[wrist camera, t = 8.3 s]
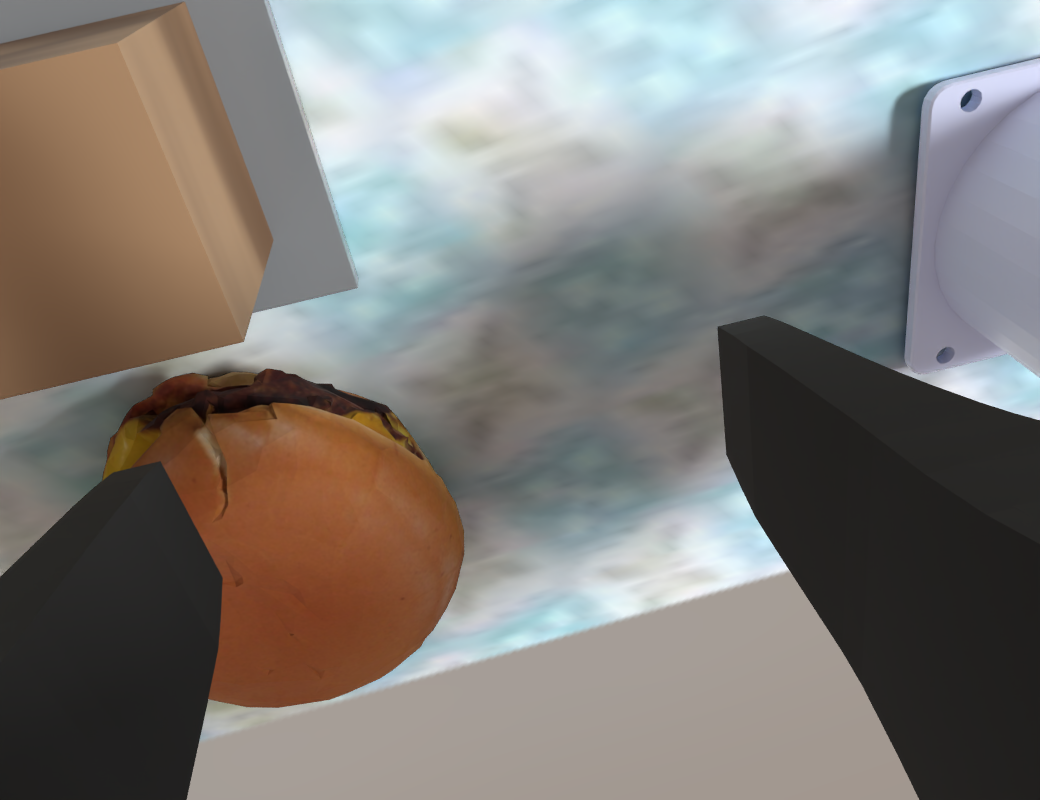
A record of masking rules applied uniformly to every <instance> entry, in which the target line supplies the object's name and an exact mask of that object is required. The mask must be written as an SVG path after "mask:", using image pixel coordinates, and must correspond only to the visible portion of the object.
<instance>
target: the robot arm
mask: <svg viewBox="0 0 1040 800" xmlns="http://www.w3.org/2000/svg"><path fill="white" fill-rule="evenodd" d="M969 90H971V91H972V96H971V99H970V101H969V102H968V104H967V105H966V106H964V107H962V108H961V106H960V102H961V99H962V97H963V96H964V94H965V93H966V92H967V91H969ZM718 341H719V355H720V369H721V384H722V398H723V412H724V427H725V441H726V455H727V457H728V459H729V461H730V464H731V466H732V468H733V470H734V472H735V475H736V477H737V479H738V481H739V484H740V486H741V488H742V490H743V492H744V494H745V496H746V498H747V501H748V503H749V505H750V507H751V509H752V511H753V513H754V515H755V517H756V519H757V520H758V522H759V523H760V525H761V527H762V528H763V530H764V531H765V533H766V535H767V536H768V538H769V539H770V541H771V542H772V544H773V545H774V547H775V549H776V550H777V552H778V553H779V555H780V556H781V558H782V560H783V561H784V563H785V564H786V566H787V567H788V569H789V570H790V572H791V573H792V575H793V577H794V578H795V580H796V581H797V582H798V584H799V586H800V587H801V589H802V590H803V592H804V593H805V595H806V597H807V598H808V600H809V601H810V603H811V604H812V605H813V607H814V609H815V610H816V612H817V613H818V615H819V616H820V618H821V619H822V621H823V623H824V624H825V626H826V627H827V629H828V630H829V632H830V633H831V635H832V636H833V638H834V639H835V641H836V643H837V644H838V646H839V647H840V649H841V650H842V652H843V654H844V655H845V657H846V658H847V660H848V662H849V664H850V665H851V667H852V669H853V670H854V672H855V674H856V676H857V677H858V679H859V681H860V682H861V684H862V686H863V688H864V690H865V692H866V694H867V696H868V697H869V700H870V702H871V704H872V706H873V708H874V710H875V711H876V713H877V715H878V717H879V719H880V721H881V723H882V725H883V727H884V729H885V731H886V733H887V735H888V737H889V739H890V741H891V742H892V745H893V747H894V749H895V751H896V753H897V754H898V757H899V759H900V761H901V763H902V765H903V767H904V769H905V771H906V773H907V775H908V777H909V779H910V781H911V783H912V785H913V788H914V790H915V792H916V794H917V796H918V798H919V800H1040V420H1036V419H1032V418H1029V417H1025V416H1022V415H1018V414H1015V413H1011V412H1008V411H1005V410H1002V409H999V408H996V407H992V406H989V405H986V404H983V403H980V402H977V401H975V400H972V399H969V398H966V397H963V396H961V395H958V394H955V393H952V392H949V391H947V390H944V389H941V388H938V387H935V386H933V385H930V384H927V383H925V382H922V381H920V380H917V379H914V378H912V377H909V376H907V375H904V374H902V373H899V372H897V371H894V370H892V369H890V368H887V367H885V366H882V365H880V364H878V363H875V362H873V361H870V360H868V359H866V358H863V357H861V356H859V355H856V354H854V353H852V352H850V351H847V350H845V349H843V348H840V347H838V346H836V345H834V344H831V343H829V342H827V341H825V340H822V339H820V338H818V337H816V336H813V335H811V334H809V333H807V332H804V331H802V330H800V329H797V328H795V327H793V326H790V325H788V324H786V323H783V322H781V321H778V320H775V319H773V318H770V317H767V316H760V317H756V318H752V319H748V320H744V321H740V322H736V323H731V324H727V325H723V326H719V327H718ZM943 348H946V350H945V351H944V352H943V353H942V355H939V356H937V354H938V353H939V352H940V351H941V349H943ZM1005 354H1008V355H1010V356H1011V357H1013V358H1014V359H1015V360H1017V361H1018V362H1019V363H1021V364H1022V365H1023V366H1025V367H1026V368H1027V369H1029V370H1030V371H1031V372H1033V373H1034V374H1035V375H1037V376H1038V377H1039V378H1040V58H1038V59H1034V60H1029V61H1025V62H1021V63H1017V64H1013V65H1008V66H1004V67H1000V68H996V69H991V70H987V71H983V72H979V73H974V74H970V75H966V76H962V77H958V78H953V79H949V80H945V81H942V82H940V83H938V84H936V85H935V86H933V87H932V88H931V89H930V90H929V91H928V93H927V95H926V96H925V98H924V101H923V105H922V113H921V127H920V141H919V156H918V170H917V184H916V199H915V213H914V227H913V242H912V256H911V270H910V285H909V299H908V313H907V328H906V342H905V356H904V358H905V363H906V365H907V366H908V367H909V368H910V369H911V370H912V371H913V372H915V373H918V374H927V373H931V372H935V371H939V370H943V369H948V368H952V367H956V366H960V365H964V364H968V363H972V362H976V361H980V360H985V359H989V358H993V357H997V356H1001V355H1005ZM222 583H223V577H222V575H221V573H220V572H219V570H218V568H217V566H216V564H215V562H214V560H213V558H212V557H211V555H210V553H209V551H208V549H207V547H206V545H205V543H204V542H203V540H202V538H201V536H200V534H199V532H198V530H197V529H196V527H195V525H194V523H193V521H192V519H191V517H190V515H189V514H188V512H187V510H186V508H185V506H184V504H183V502H182V500H181V499H180V497H179V495H178V493H177V491H176V489H175V487H174V485H173V484H172V482H171V480H170V478H169V476H168V474H167V472H166V471H165V469H164V467H163V465H162V463H161V461H159V462H155V463H150V464H146V465H142V466H138V467H134V468H130V469H125V470H121V471H117V472H113V473H112V474H110V475H109V476H108V477H107V478H105V479H104V480H103V481H101V482H100V483H99V484H98V485H97V486H95V487H94V488H93V489H92V490H91V491H90V492H89V493H88V494H86V495H85V496H84V497H83V498H82V499H81V500H80V501H79V502H78V503H77V504H76V505H74V506H73V507H72V508H71V509H70V510H69V511H68V512H67V513H66V514H65V515H64V516H63V517H62V518H61V519H60V520H59V521H58V522H57V523H56V524H55V525H54V526H53V527H52V528H50V529H49V530H48V531H47V532H46V533H45V534H44V535H43V536H42V537H41V538H40V539H39V540H38V541H37V542H36V543H35V544H34V545H33V546H32V547H31V548H30V549H29V550H28V551H27V552H26V553H25V554H24V555H23V556H22V557H21V558H19V559H18V560H17V561H16V562H15V563H14V564H13V565H12V566H11V567H10V568H9V569H8V570H7V571H6V572H5V573H4V574H3V575H2V576H1V577H0V800H186V799H187V795H188V790H189V785H190V781H191V776H192V772H193V767H194V762H195V758H196V753H197V748H198V744H199V739H200V735H201V730H202V726H203V721H204V717H205V712H206V707H207V703H208V698H209V693H210V688H211V683H212V678H213V674H214V669H215V664H216V658H217V653H218V648H219V635H220V623H221V605H222Z"/></svg>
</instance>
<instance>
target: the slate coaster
mask: <svg viewBox="0 0 1040 800" xmlns="http://www.w3.org/2000/svg"><path fill="white" fill-rule="evenodd" d="M181 2H185V3H186V6H187V9H188V11H189V14H190V17H191V19H192V22H193V25H194V27H195V30H196V33H197V36H198V38H199V41H200V44H201V46H202V49H203V52H204V54H205V57H206V60H207V62H208V65H209V68H210V70H211V73H212V76H213V78H214V81H215V84H216V87H217V89H218V92H219V95H220V97H221V100H222V103H223V105H224V108H225V111H226V113H227V116H228V119H229V121H230V124H231V127H232V129H233V132H234V135H235V137H236V140H237V143H238V146H239V148H240V151H241V154H242V156H243V159H244V162H245V164H246V167H247V170H248V172H249V175H250V178H251V180H252V183H253V186H254V188H255V191H256V194H257V197H258V199H259V202H260V205H261V207H262V210H263V213H264V215H265V218H266V221H267V223H268V226H269V229H270V231H271V234H272V237H273V239H274V240H273V244H272V247H271V251H270V254H269V257H268V261H267V264H266V268H265V271H264V274H263V278H262V281H261V285H260V288H259V292H258V295H257V298H256V302H255V305H254V309H253V312H252V313H255V312H259V311H263V310H267V309H271V308H276V307H280V306H284V305H288V304H292V303H297V302H301V301H305V300H309V299H313V298H318V297H322V296H326V295H330V294H334V293H339V292H343V291H347V290H351V289H355V288H358V275H357V272H356V269H355V266H354V263H353V260H352V257H351V254H350V251H349V248H348V245H347V242H346V238H345V235H344V232H343V229H342V226H341V223H340V220H339V217H338V214H337V211H336V208H335V204H334V201H333V198H332V195H331V192H330V189H329V186H328V183H327V180H326V177H325V174H324V170H323V167H322V164H321V161H320V158H319V155H318V152H317V149H316V146H315V143H314V140H313V136H312V133H311V130H310V127H309V124H308V121H307V118H306V115H305V112H304V109H303V106H302V103H301V99H300V96H299V93H298V90H297V87H296V84H295V81H294V78H293V75H292V72H291V69H290V65H289V62H288V59H287V56H286V53H285V50H284V47H283V44H282V41H281V38H280V35H279V31H278V28H277V25H276V22H275V19H274V16H273V13H272V10H271V7H270V4H269V1H268V0H0V44H1V43H6V42H10V41H14V40H19V39H23V38H27V37H32V36H36V35H41V34H45V33H49V32H54V31H58V30H62V29H67V28H71V27H76V26H80V25H84V24H89V23H93V22H97V21H102V20H106V19H111V18H115V17H119V16H124V15H128V14H132V13H137V12H141V11H146V10H150V9H154V8H159V7H163V6H167V5H172V4H176V3H181Z"/></svg>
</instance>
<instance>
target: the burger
mask: <svg viewBox="0 0 1040 800" xmlns="http://www.w3.org/2000/svg"><path fill="white" fill-rule="evenodd" d="M159 461H161V463H162V465H163V467H164V469H165V471H166V472H167V474H168V476H169V478H170V480H171V482H172V484H173V485H174V487H175V489H176V491H177V493H178V495H179V497H180V499H181V500H182V502H183V504H184V506H185V508H186V510H187V512H188V514H189V515H190V517H191V519H192V521H193V523H194V525H195V527H196V529H197V530H198V532H199V534H200V536H201V538H202V540H203V542H204V543H205V545H206V547H207V549H208V551H209V553H210V555H211V557H212V558H213V560H214V562H215V564H216V566H217V568H218V570H219V572H220V573H221V575H222V577H223V583H222V605H221V623H220V635H219V648H218V653H217V658H216V664H215V669H214V674H213V678H212V683H211V688H210V693H209V698H208V699H210V700H215V701H219V702H224V703H229V704H235V705H240V706H245V707H272V708H279V707H285V706H292V705H298V704H304V703H311V702H318V701H324V700H330V699H333V698H335V697H338V696H341V695H343V694H346V693H348V692H351V691H353V690H355V689H357V688H360V687H362V686H364V685H366V684H368V683H371V682H373V681H375V680H377V679H380V678H381V677H383V676H384V675H386V674H387V673H389V672H391V671H392V670H393V669H395V668H396V667H397V666H398V665H399V664H401V663H402V662H403V661H404V660H405V659H407V658H408V657H409V656H410V655H411V654H413V653H414V652H415V651H416V650H417V649H418V648H420V647H421V645H422V643H423V642H424V640H425V638H426V637H427V636H428V635H429V634H430V633H431V632H432V631H433V629H434V628H435V626H436V624H437V623H438V621H439V620H440V618H441V616H442V615H443V613H444V612H445V610H446V608H447V606H448V604H449V602H450V600H451V597H452V595H453V593H454V591H455V589H456V585H457V581H458V577H459V573H460V569H461V565H462V561H463V557H464V530H463V526H462V523H461V519H460V516H459V512H458V509H457V506H456V503H455V501H454V499H453V498H452V496H451V495H450V493H449V491H448V490H447V488H446V486H445V484H444V482H443V480H442V478H441V477H440V476H438V475H437V474H436V473H435V471H434V470H433V468H432V466H431V464H430V463H429V461H428V459H427V458H426V456H425V455H424V453H423V452H422V451H421V449H420V448H419V446H418V445H417V443H416V442H415V440H414V439H413V437H412V436H411V435H410V434H409V432H408V431H407V430H406V428H405V427H404V426H403V424H402V423H401V422H400V420H399V419H398V418H397V417H396V415H395V414H394V413H393V412H392V411H391V410H390V409H389V408H388V407H387V406H386V405H383V404H380V403H377V402H374V401H371V400H369V399H366V398H364V397H361V396H359V395H356V394H352V393H348V392H344V391H341V390H337V389H335V388H334V387H333V385H332V384H316V383H313V382H310V381H307V380H305V379H302V378H301V377H299V376H297V375H296V374H286V373H284V372H283V371H280V370H274V369H265V370H264V371H262V372H260V373H259V374H254V373H248V372H231V373H228V374H225V375H223V376H220V377H215V378H210V379H208V376H205V375H200V374H196V373H190V374H185V375H181V376H176V377H173V378H170V379H168V380H166V381H164V382H163V383H161V384H160V385H158V386H157V387H155V388H154V389H153V395H152V396H151V397H149V398H147V399H145V400H143V401H141V402H139V403H137V404H135V405H134V406H133V407H132V408H131V409H130V411H129V412H128V413H127V414H126V416H125V418H124V420H123V422H122V424H121V426H120V428H119V430H118V432H117V433H116V434H115V435H113V436H112V437H111V438H110V442H109V446H108V450H107V461H106V465H105V468H104V472H103V479H102V481H103V480H104V479H105V478H107V477H108V476H109V475H110V474H112V473H113V472H117V471H121V470H125V469H130V468H134V467H138V466H142V465H146V464H150V463H155V462H159Z"/></svg>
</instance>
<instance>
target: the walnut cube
mask: <svg viewBox="0 0 1040 800" xmlns="http://www.w3.org/2000/svg"><path fill="white" fill-rule="evenodd" d="M273 240H274V239H273V237H272V234H271V231H270V229H269V226H268V223H267V221H266V218H265V215H264V213H263V210H262V207H261V205H260V202H259V199H258V197H257V194H256V191H255V188H254V186H253V183H252V180H251V178H250V175H249V172H248V170H247V167H246V164H245V162H244V159H243V156H242V154H241V151H240V148H239V146H238V143H237V140H236V137H235V135H234V132H233V129H232V127H231V124H230V121H229V119H228V116H227V113H226V111H225V108H224V105H223V103H222V100H221V97H220V95H219V92H218V89H217V87H216V84H215V81H214V78H213V76H212V73H211V70H210V68H209V65H208V62H207V60H206V57H205V54H204V52H203V49H202V46H201V44H200V41H199V38H198V36H197V33H196V30H195V27H194V25H193V22H192V19H191V17H190V14H189V11H188V9H187V6H186V3H185V2H181V3H176V4H172V5H167V6H163V7H159V8H154V9H150V10H146V11H141V12H137V13H132V14H128V15H124V16H119V17H115V18H111V19H106V20H102V21H97V22H93V23H89V24H84V25H80V26H76V27H71V28H67V29H62V30H58V31H54V32H49V33H45V34H41V35H36V36H32V37H27V38H23V39H19V40H14V41H10V42H6V43H1V44H0V400H1V399H5V398H9V397H13V396H17V395H22V394H26V393H30V392H34V391H38V390H43V389H47V388H51V387H55V386H60V385H64V384H68V383H72V382H76V381H81V380H85V379H89V378H93V377H97V376H102V375H106V374H110V373H114V372H119V371H123V370H127V369H131V368H135V367H140V366H144V365H148V364H152V363H156V362H161V361H165V360H169V359H173V358H177V357H182V356H186V355H190V354H194V353H199V352H203V351H207V350H211V349H215V348H220V347H224V346H228V345H232V344H236V343H241V342H244V339H245V336H246V332H247V329H248V326H249V322H250V319H251V315H252V312H253V309H254V305H255V302H256V298H257V295H258V292H259V288H260V285H261V281H262V278H263V274H264V271H265V268H266V264H267V261H268V257H269V254H270V251H271V247H272V244H273Z"/></svg>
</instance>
